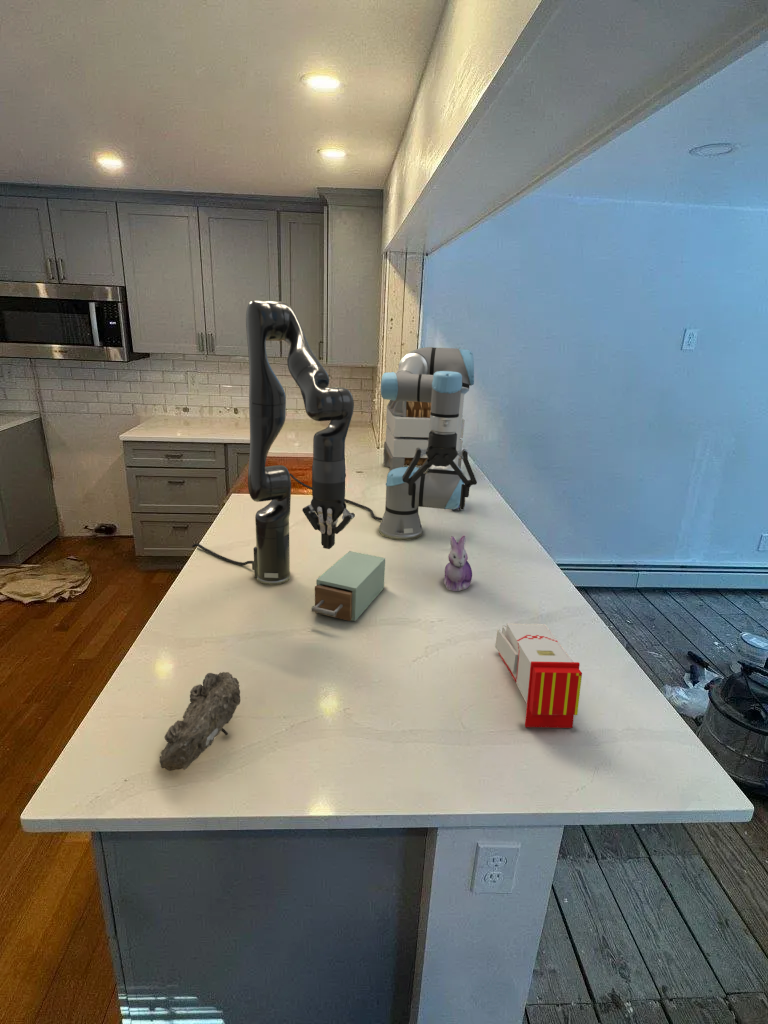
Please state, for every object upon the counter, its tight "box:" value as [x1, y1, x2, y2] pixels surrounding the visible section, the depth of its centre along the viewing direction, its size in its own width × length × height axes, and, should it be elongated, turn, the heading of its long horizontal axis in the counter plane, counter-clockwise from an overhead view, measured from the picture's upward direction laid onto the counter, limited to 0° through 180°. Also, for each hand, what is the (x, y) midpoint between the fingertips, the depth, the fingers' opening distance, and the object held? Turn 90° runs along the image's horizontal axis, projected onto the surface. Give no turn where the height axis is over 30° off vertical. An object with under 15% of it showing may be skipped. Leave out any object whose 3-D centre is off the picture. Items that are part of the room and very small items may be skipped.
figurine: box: [443, 534, 473, 592], centre depth 162 cm, size 9×10×15 cm
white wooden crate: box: [383, 400, 465, 472], centre depth 268 cm, size 34×33×41 cm
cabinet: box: [316, 550, 386, 622], centre depth 152 cm, size 20×11×9 cm, turn 159°
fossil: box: [159, 671, 241, 772], centre depth 102 cm, size 22×10×15 cm
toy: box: [494, 623, 583, 729], centre depth 120 cm, size 12×13×30 cm
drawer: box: [311, 584, 352, 622], centre depth 148 cm, size 24×10×7 cm, turn 159°
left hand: (328, 547), depth 134 cm, fingers closed
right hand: (437, 507), depth 157 cm, fingers open, 13 cm apart
